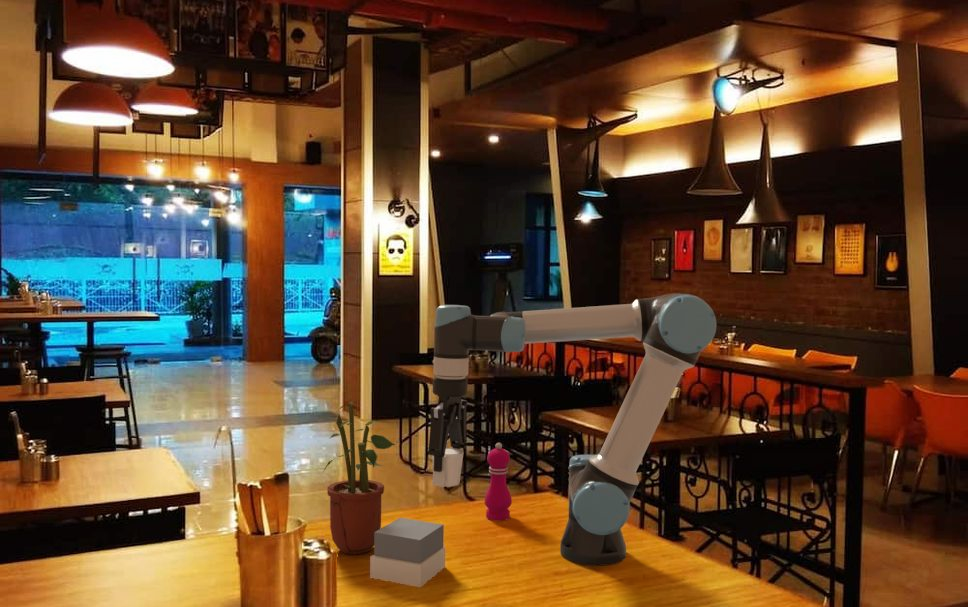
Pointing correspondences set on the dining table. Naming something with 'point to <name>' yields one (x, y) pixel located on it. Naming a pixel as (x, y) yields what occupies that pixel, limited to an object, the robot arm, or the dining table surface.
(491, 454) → the pepper mill
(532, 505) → the dining table surface
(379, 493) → the potted plant
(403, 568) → the tower base
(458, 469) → the white cup
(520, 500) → the dining table surface
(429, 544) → the tower top
